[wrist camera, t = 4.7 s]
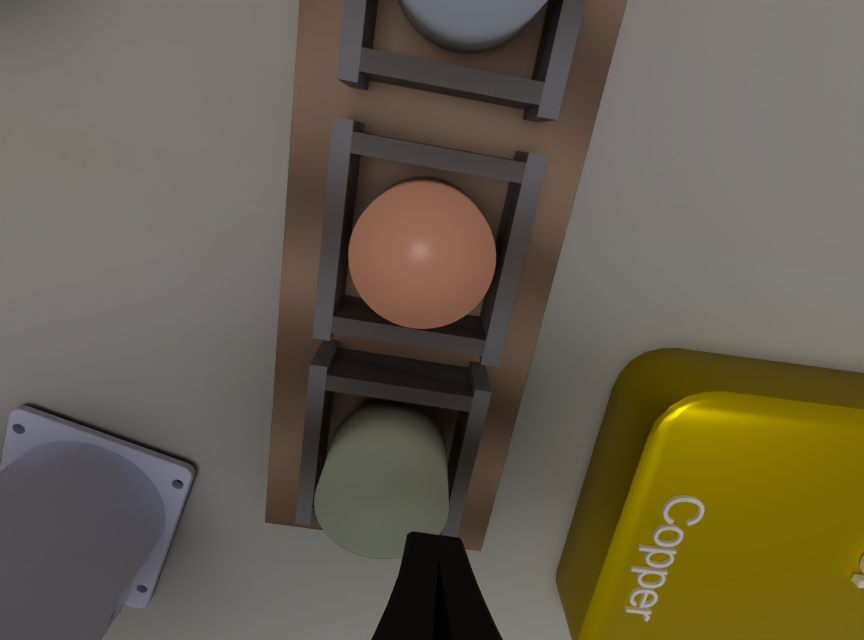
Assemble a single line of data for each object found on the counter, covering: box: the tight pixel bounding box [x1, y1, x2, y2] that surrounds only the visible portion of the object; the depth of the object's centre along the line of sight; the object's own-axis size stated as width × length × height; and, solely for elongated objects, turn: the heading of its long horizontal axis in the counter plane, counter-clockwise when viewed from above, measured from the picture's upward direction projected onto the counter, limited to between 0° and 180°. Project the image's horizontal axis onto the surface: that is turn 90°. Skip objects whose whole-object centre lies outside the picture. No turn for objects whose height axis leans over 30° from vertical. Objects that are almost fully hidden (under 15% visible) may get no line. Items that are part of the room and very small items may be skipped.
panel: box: [265, 0, 627, 551], centre depth 17 cm, size 28×10×5 cm, turn 170°
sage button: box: [314, 402, 449, 559], centre depth 17 cm, size 4×4×3 cm
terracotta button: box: [348, 176, 496, 329], centre depth 16 cm, size 4×4×3 cm
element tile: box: [556, 348, 864, 640], centre depth 22 cm, size 15×15×5 cm
